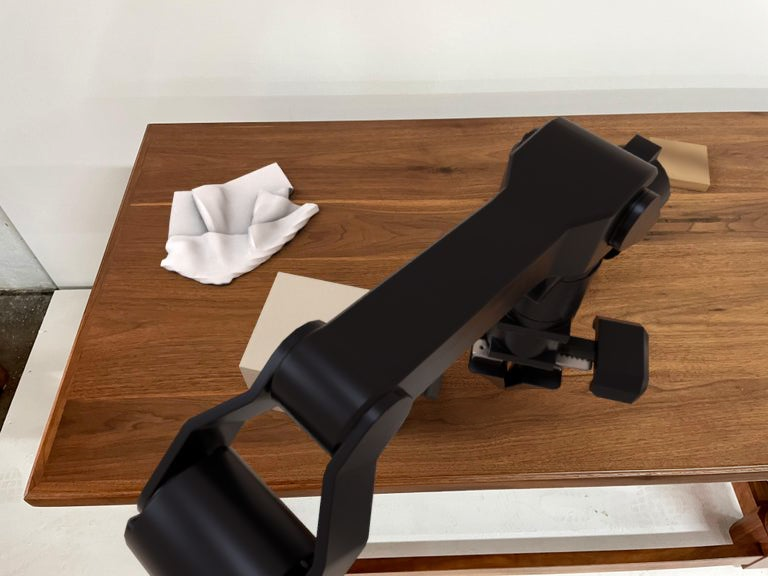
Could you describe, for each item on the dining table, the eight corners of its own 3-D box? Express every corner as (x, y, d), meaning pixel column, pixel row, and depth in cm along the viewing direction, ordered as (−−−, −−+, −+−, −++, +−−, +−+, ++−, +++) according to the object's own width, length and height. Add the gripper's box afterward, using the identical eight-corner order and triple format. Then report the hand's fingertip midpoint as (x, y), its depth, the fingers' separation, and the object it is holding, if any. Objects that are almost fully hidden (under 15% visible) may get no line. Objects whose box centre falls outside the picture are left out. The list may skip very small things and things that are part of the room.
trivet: (705, 192, 84) (710, 184, 83) (646, 182, 85) (650, 174, 84) (702, 153, 88) (706, 145, 87) (646, 144, 89) (649, 136, 88)
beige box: (400, 341, 70) (402, 296, 62) (376, 434, 64) (375, 396, 56) (289, 318, 72) (278, 271, 64) (255, 406, 66) (238, 366, 58)
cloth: (145, 284, 75) (138, 273, 73) (185, 160, 87) (180, 147, 85) (308, 289, 74) (306, 278, 72) (325, 164, 87) (323, 152, 85)
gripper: (678, 224, 44) (611, 330, 57) (430, 181, 47) (420, 292, 60) (684, 354, 38) (608, 440, 51) (398, 296, 41) (394, 393, 54)
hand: (503, 384), depth 54 cm, fingers closed
